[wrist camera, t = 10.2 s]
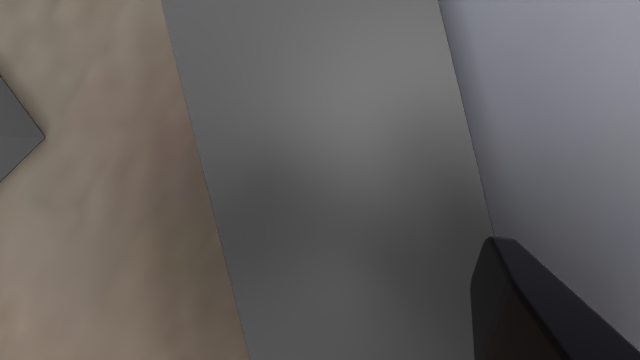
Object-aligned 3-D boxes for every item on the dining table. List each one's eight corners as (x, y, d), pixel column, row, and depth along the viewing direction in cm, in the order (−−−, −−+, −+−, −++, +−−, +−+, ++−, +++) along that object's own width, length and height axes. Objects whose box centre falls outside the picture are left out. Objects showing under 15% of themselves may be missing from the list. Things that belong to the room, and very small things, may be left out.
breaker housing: (524, 363, 19) (533, 398, 16) (291, 396, 21) (267, 432, 18) (364, -304, 18) (348, -373, 16) (142, -204, 20) (97, -251, 18)
